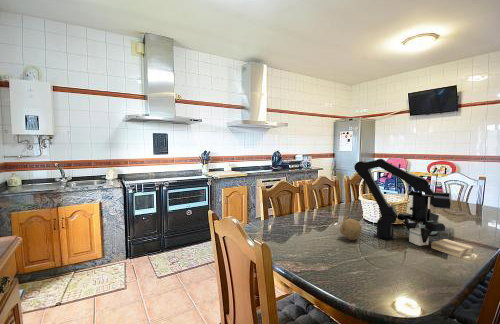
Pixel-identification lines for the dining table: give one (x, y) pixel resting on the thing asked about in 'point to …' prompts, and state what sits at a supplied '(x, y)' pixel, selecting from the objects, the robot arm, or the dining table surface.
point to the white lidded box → (417, 237)
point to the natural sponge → (350, 229)
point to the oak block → (452, 248)
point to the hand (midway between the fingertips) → (418, 240)
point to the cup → (429, 221)
